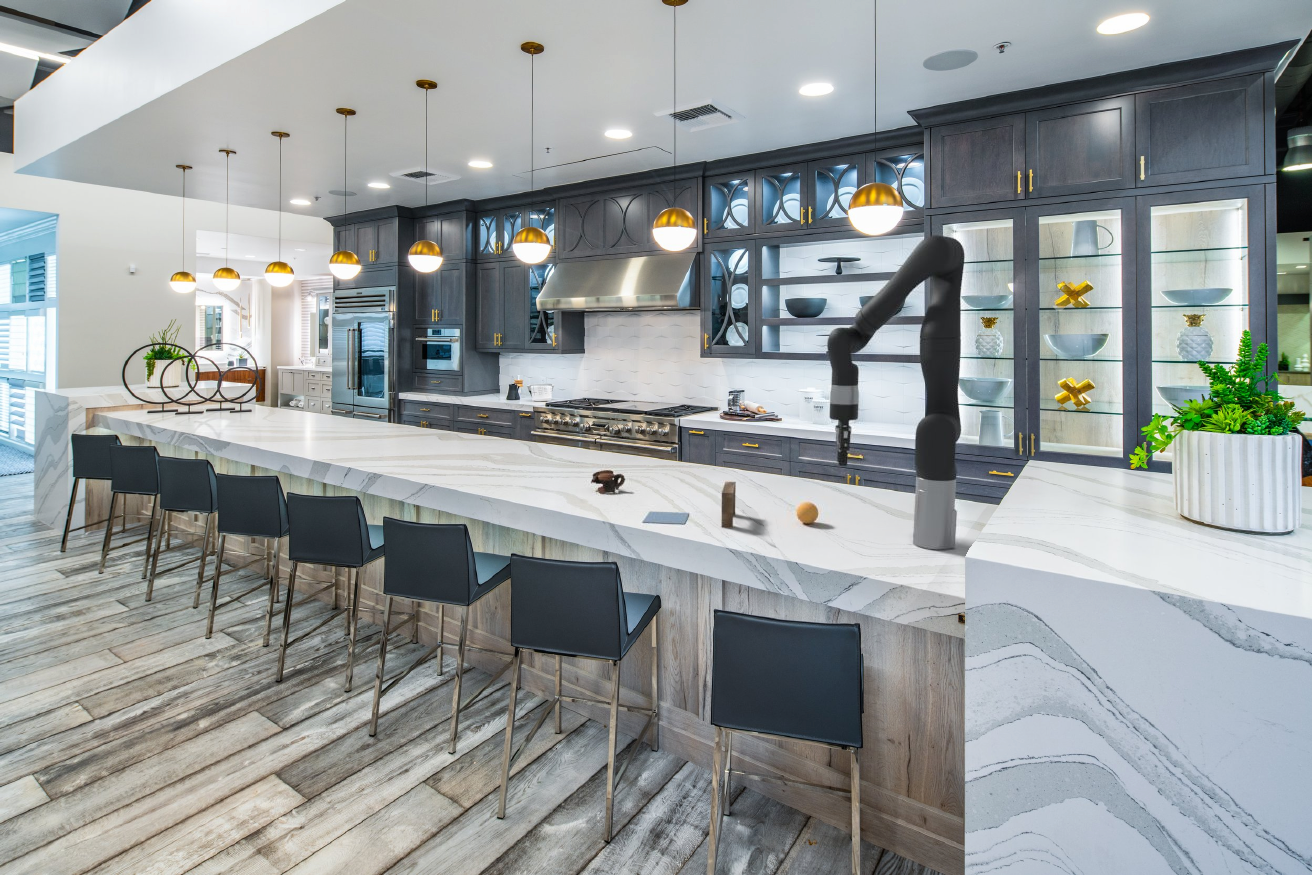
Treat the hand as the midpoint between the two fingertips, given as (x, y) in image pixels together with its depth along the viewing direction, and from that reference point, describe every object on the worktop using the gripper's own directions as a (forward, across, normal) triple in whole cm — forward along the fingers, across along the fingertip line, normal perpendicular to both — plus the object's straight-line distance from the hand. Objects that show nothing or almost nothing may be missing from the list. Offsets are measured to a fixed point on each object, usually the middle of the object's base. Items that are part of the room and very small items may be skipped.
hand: (842, 463), depth 188 cm
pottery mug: (+18, +33, +74) cm, 83 cm away
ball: (+14, 0, +9) cm, 17 cm away
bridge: (+17, 0, +31) cm, 35 cm away
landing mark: (+17, 0, +49) cm, 52 cm away
